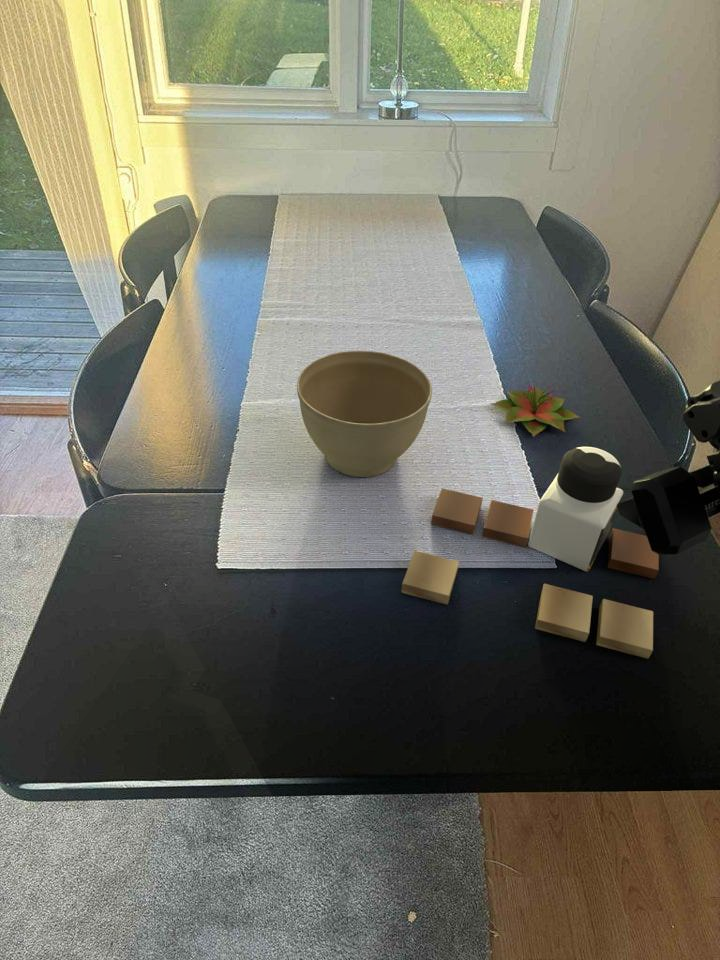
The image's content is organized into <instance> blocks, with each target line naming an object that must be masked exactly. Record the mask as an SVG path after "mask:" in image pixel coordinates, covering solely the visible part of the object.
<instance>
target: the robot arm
mask: <svg viewBox="0 0 720 960" xmlns="http://www.w3.org/2000/svg"><path fill="white" fill-rule="evenodd" d="M682 420H683V423H684V424H685V425H686V427H687V428H688V430H689V431H690V432H691V434H692V435H693V436H694V439H695V440H696V441H697V442H699V443H702V444H705V443H709V444H710V445H711V447H712V448H714V449H715V450H717V451H713V452H711V453H709V454H706V459H707V462H708V464H707V465H704V466H702V467H700V468H697V469H695V470H692V471H688V470H686V469H685V468H684V467H683V466H681V465H680V466H675V467H669V468H666V469H662V470H658V471H656V472H654V473H651V474H649V475H647V476H645V477H642V478H639V479H637V480H634V481H633V483H632V487H631V490H630V491H631V494H632V497H630V498H628V499H625V500H623V501H620V503H618V504H617V511H618V514H619V515H620V517H622V518H624V519H626V520H627V521H629V522H631V523H633V524H634V525H635V526H638V527H639V528H641V529H642V530H644V532H645V536H647V538H648V541H649V544H650V547H651V550H652V551H653V552H655V553H657V554H658V555H659V556H664V555H665V556H666V555H669V556H670V555H679V554H680V553H682V552H684V551H686V550H689V549H691V548H693V547H694V546H697V545H699V544H701V543H703V542H705V541H707V539H708V538H709V535H710V534H711V532H712V529H713V528H712V525H711V522H710V519H711V518H714V517H716V516H718V515H719V514H720V379H719V380H717V381H714V382H712V383H710V385H708V386H707V387H706V388H705V389H704V390H703V391H701V392H699V393H697V394H695V395H692V396H689V397H688V398H687V399H686V405H685V411H683V413H682ZM699 488H700V489H699Z"/></svg>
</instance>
